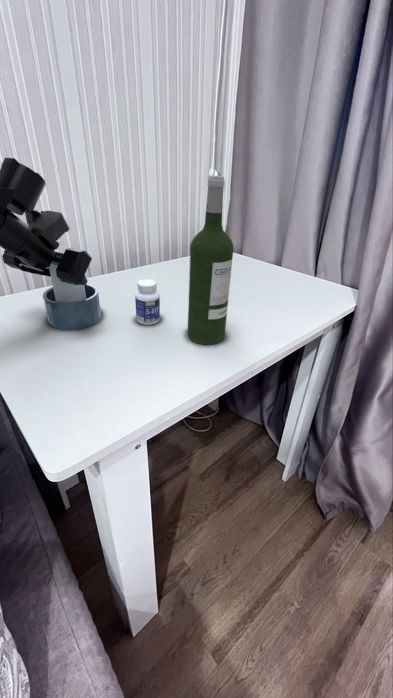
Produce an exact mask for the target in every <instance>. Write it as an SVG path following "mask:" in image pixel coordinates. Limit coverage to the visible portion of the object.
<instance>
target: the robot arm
mask: <svg viewBox="0 0 393 698" xmlns="http://www.w3.org/2000/svg"><path fill="white" fill-rule="evenodd" d="M46 185H47V182H46V180H45V179H44V178H43V176H42V175H41V174H40V173H38V172H36V171H34V170H33V169H32V168H30V167H29V166H26V165H25V164H23V163H20V162H19V161H18V160H17V159H16V158H15V157H4V159H3V161H2V163H1V166H0V248H1V249H2V250H4V251H3V254H2V255H1V257H2V261H3V264H5V265H7V266H8V267H10V268H11V269H16V270H19V271H22V272H25V273H29V274H34V275H39V276H45V277H50V278H51V275H50V270H49V267H50V265H51V264H54V265H58V266H57V269H56V274H57V277H58V278H59V279H60V281H62V282H65V283H69V284H74V285H86V284H88V279H87V277H86V273H87V270H88V269H89V267H90V264H91V262H92V260H93V258H92V256H91V254H89V253H88V251H86V250H84V249H80V248H76V247H68V248H65V250H64V252H59V251H56V250H58V249H59V247H60V242H58V240H59V239H61V237H63V235H65V233H67V232H69V231H70V229H71V228H70V226H69V224H68V222H67V220H66V218H65V217H64V215H63V213H62V212H59V211H53V210H41V211H38V210H36V209H35V207H36V206H37V203H38V202H39V199H40V198H41V196H42V194H43V192H44V191H45V188H46ZM17 215H18V216H17ZM23 215H25V220H26V222H25V221H23V220H22V219H21V218H20V217H19V216H23Z"/></svg>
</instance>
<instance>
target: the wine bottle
mask: <svg viewBox="0 0 393 698" xmlns="http://www.w3.org/2000/svg"><path fill="white" fill-rule="evenodd" d="M225 181H226V180H225V177H224V176H223V175H209V176H208V178H207V193H206V206H205V218H204V225H203V228H202V229H201V230H200V231H199V232H198V233H197V234H196V235H194V237H193V238H192V240H191V242H190V245H189V268H188V269H189V270H188V272H189V274H188V305H187V309H188V310H187V336H188V338H189V339H190V340H191V341H192V342H195V343H196V344H199V345H207V346H208V345H216V344H218V343H221V342H222V341H223V340H224V338H225V336H226V329H227V317H228V306H229V297H230V286H231V278H232V277H231V276H232V267H233V258H234V244H233V241H232V239H231V237H230V236H229V234H227V233H226V231H224V228H223V208H224V207H223V206H224V187H225Z"/></svg>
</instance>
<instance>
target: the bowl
mask: <svg viewBox="0 0 393 698" xmlns="http://www.w3.org/2000/svg"><path fill="white" fill-rule="evenodd" d="M84 288H85V294H86V299H85V300H82V301H77V302H69V303H62V302H56V299H55V294H54V289H53V286H51V287H49V288H48V289H46V290H45V291H44V292H43V294H42V300H43V304H44V308H45V312H46V317H47V318H46V319H47V320H48V323H49V325H50V326H52V327H53V328H56V329H60V330H79V329H85V328H88V327H91V326H93V325H95V324H96V323H98V322H99V321H100V320H101V318H102V311H101V304H100V303H101V302H100V297H99V289H98V288H97V287H96V286H95V285H92V284H89V283H87V284H86V285H84Z"/></svg>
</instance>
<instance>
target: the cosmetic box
mask: <svg viewBox="0 0 393 698" xmlns="http://www.w3.org/2000/svg"><path fill="white" fill-rule="evenodd" d="M57 266H58V265H54V264H51V265H50V267H49V270H50V275H51V277H50V279H51V284H52V287H53V289H54V294H55V299H56V302H62V303H69V302H77V301H82V300H85V299H86V294H85V288H84V285H74V284H69V283H65V282H62V281H60V279H59V278H58V277H57V274H56V269H57Z"/></svg>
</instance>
